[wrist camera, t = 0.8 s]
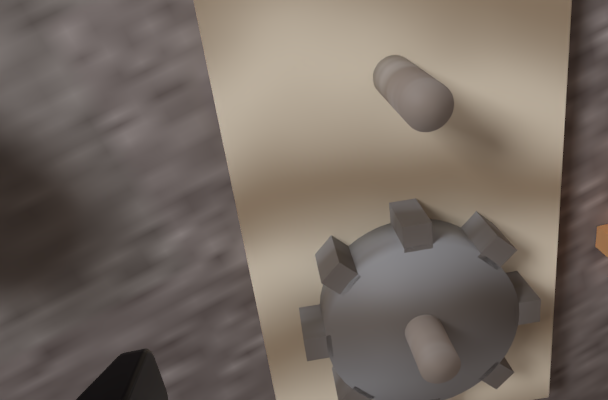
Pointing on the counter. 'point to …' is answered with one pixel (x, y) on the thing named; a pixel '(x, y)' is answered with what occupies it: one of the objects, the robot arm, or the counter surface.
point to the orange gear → (602, 239)
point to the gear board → (396, 189)
